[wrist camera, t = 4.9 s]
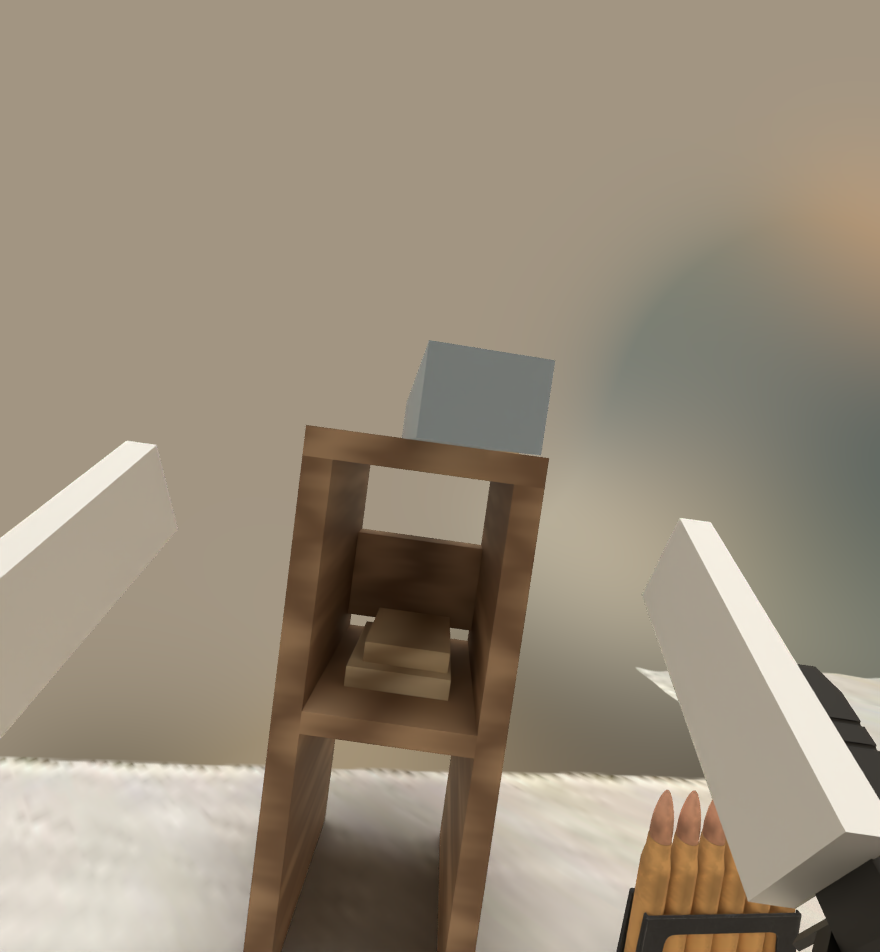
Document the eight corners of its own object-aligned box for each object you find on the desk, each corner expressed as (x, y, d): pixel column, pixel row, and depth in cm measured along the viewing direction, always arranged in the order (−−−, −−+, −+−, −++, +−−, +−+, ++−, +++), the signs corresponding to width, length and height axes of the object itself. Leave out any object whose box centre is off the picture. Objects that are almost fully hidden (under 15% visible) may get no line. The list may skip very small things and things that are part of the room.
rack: (238, 991, 25) (311, 376, 23) (305, 816, 37) (358, 400, 35) (464, 1024, 25) (556, 409, 23) (458, 838, 37) (519, 422, 35)
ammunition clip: (628, 1001, 27) (662, 802, 27) (612, 965, 29) (644, 778, 29) (790, 992, 29) (827, 805, 28) (765, 960, 31) (799, 783, 30)
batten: (416, 438, 15) (429, 340, 15) (401, 439, 39) (406, 402, 38) (540, 455, 15) (554, 360, 15) (450, 446, 39) (455, 409, 39)
